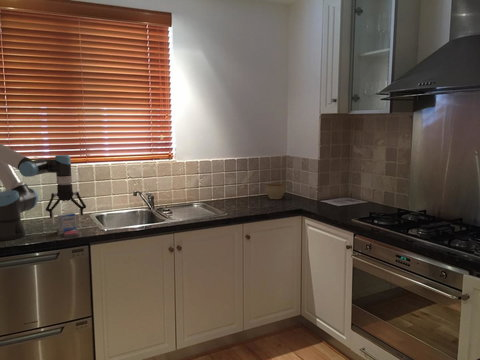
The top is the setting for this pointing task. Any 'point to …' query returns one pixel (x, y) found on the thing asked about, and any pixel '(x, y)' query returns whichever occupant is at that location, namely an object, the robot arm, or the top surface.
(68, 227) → the medicine box
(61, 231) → the paper card
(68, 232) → the ink pad
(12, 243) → the top surface
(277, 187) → the planter bowl
